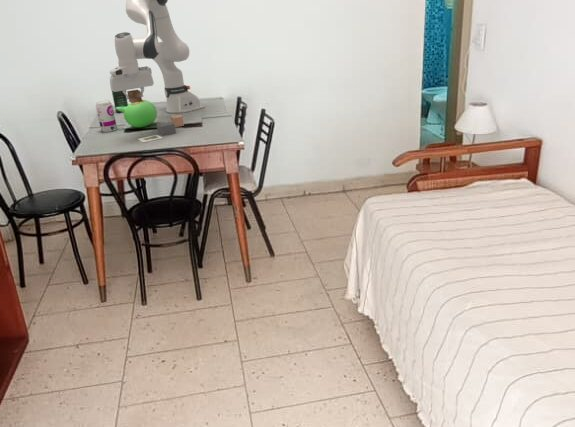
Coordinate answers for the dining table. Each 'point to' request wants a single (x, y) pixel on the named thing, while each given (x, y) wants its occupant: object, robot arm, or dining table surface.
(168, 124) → the charcoal base block
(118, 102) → the coffee jar
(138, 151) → the dining table surface
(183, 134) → the dining table surface
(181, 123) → the terracotta cube
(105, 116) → the supplement can
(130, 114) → the toy bird
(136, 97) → the walnut cube
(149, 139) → the card
